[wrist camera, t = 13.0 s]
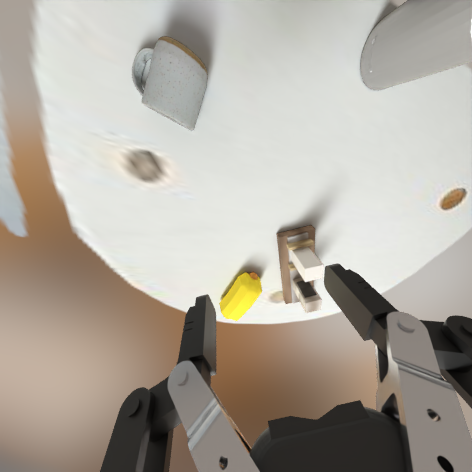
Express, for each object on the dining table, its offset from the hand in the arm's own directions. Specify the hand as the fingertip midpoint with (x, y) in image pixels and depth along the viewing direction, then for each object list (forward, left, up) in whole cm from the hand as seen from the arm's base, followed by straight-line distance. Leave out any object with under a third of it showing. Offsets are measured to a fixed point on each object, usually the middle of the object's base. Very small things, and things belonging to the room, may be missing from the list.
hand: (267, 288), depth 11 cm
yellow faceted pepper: (+5, +31, -29) cm, 42 cm away
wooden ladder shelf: (-13, +27, -28) cm, 41 cm away
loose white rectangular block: (-13, +20, -26) cm, 35 cm away
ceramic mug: (+6, -17, -28) cm, 34 cm away
